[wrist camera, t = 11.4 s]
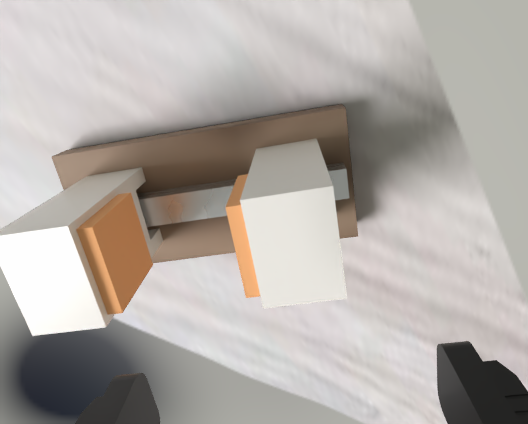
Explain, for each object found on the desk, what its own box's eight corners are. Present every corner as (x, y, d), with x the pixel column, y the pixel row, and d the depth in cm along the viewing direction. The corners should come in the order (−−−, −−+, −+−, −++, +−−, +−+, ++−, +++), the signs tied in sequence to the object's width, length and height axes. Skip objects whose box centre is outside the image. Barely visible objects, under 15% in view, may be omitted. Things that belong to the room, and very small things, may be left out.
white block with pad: (244, 150, 27) (221, 202, 17) (316, 138, 26) (333, 185, 17) (259, 227, 29) (246, 310, 19) (327, 217, 28) (347, 298, 19)
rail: (66, 150, 29) (-69, 209, 18) (341, 104, 27) (379, 139, 16) (104, 258, 33) (10, 365, 21) (353, 224, 30) (392, 325, 19)
